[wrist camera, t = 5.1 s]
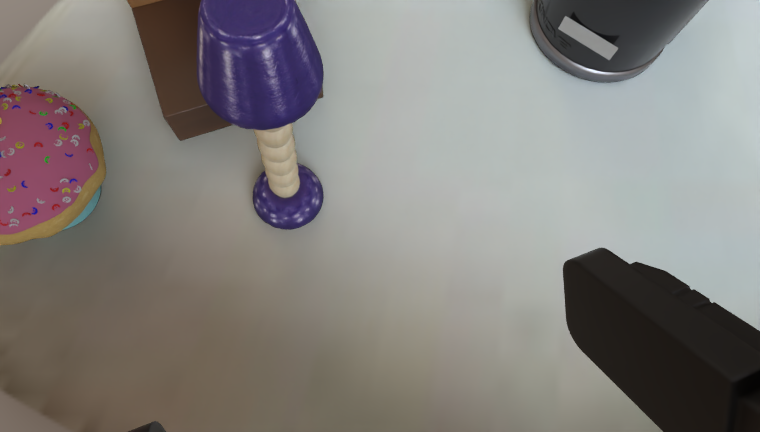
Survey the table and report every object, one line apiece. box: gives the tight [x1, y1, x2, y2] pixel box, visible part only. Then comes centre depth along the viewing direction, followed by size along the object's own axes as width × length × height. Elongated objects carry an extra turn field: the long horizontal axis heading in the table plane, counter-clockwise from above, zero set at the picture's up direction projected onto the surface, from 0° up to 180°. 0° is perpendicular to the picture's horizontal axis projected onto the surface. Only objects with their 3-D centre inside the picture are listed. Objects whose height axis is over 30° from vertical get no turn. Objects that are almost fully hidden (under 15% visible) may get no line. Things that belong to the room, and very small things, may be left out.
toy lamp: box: [197, 0, 323, 229], centre depth 24 cm, size 5×5×17 cm
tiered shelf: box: [127, 0, 323, 141], centre depth 31 cm, size 10×12×8 cm
